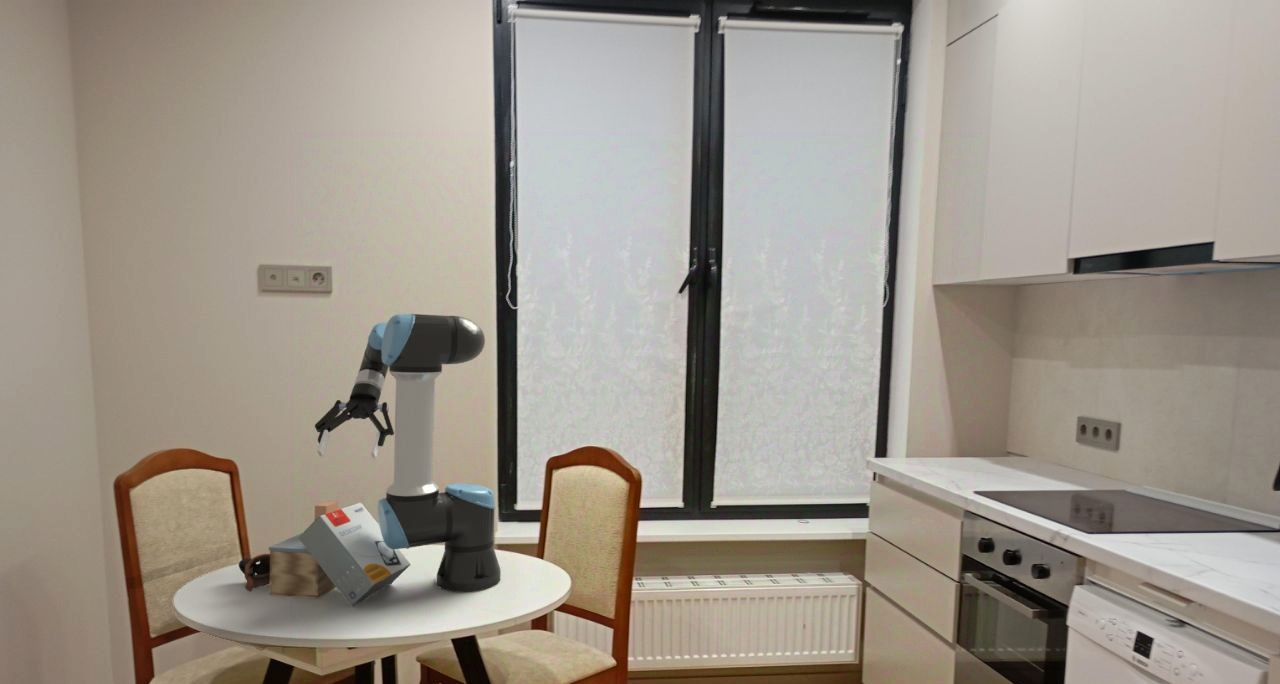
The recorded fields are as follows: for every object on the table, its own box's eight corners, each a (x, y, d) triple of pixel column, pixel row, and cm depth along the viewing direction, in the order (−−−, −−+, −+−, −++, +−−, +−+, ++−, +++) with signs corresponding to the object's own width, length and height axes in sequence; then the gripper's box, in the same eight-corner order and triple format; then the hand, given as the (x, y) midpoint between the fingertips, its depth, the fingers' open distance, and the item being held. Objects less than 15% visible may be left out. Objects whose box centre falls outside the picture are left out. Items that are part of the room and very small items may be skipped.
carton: (353, 577, 163) (353, 536, 163) (317, 598, 149) (318, 554, 149) (308, 574, 165) (309, 534, 165) (269, 595, 151) (270, 551, 151)
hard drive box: (374, 585, 143) (317, 516, 146) (351, 608, 144) (295, 539, 147) (412, 563, 158) (360, 501, 161) (391, 584, 159) (340, 522, 162)
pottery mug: (296, 579, 162) (293, 556, 158) (268, 610, 154) (264, 585, 150) (253, 564, 164) (249, 540, 160) (223, 593, 156) (218, 569, 152)
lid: (355, 535, 164) (356, 502, 164) (319, 553, 149) (320, 516, 149) (309, 533, 165) (309, 500, 165) (268, 550, 151) (269, 514, 151)
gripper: (414, 399, 191) (398, 463, 177) (325, 395, 189) (301, 460, 175) (410, 383, 185) (392, 449, 171) (318, 379, 183) (293, 445, 169)
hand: (346, 454), depth 173 cm, fingers open, 13 cm apart
